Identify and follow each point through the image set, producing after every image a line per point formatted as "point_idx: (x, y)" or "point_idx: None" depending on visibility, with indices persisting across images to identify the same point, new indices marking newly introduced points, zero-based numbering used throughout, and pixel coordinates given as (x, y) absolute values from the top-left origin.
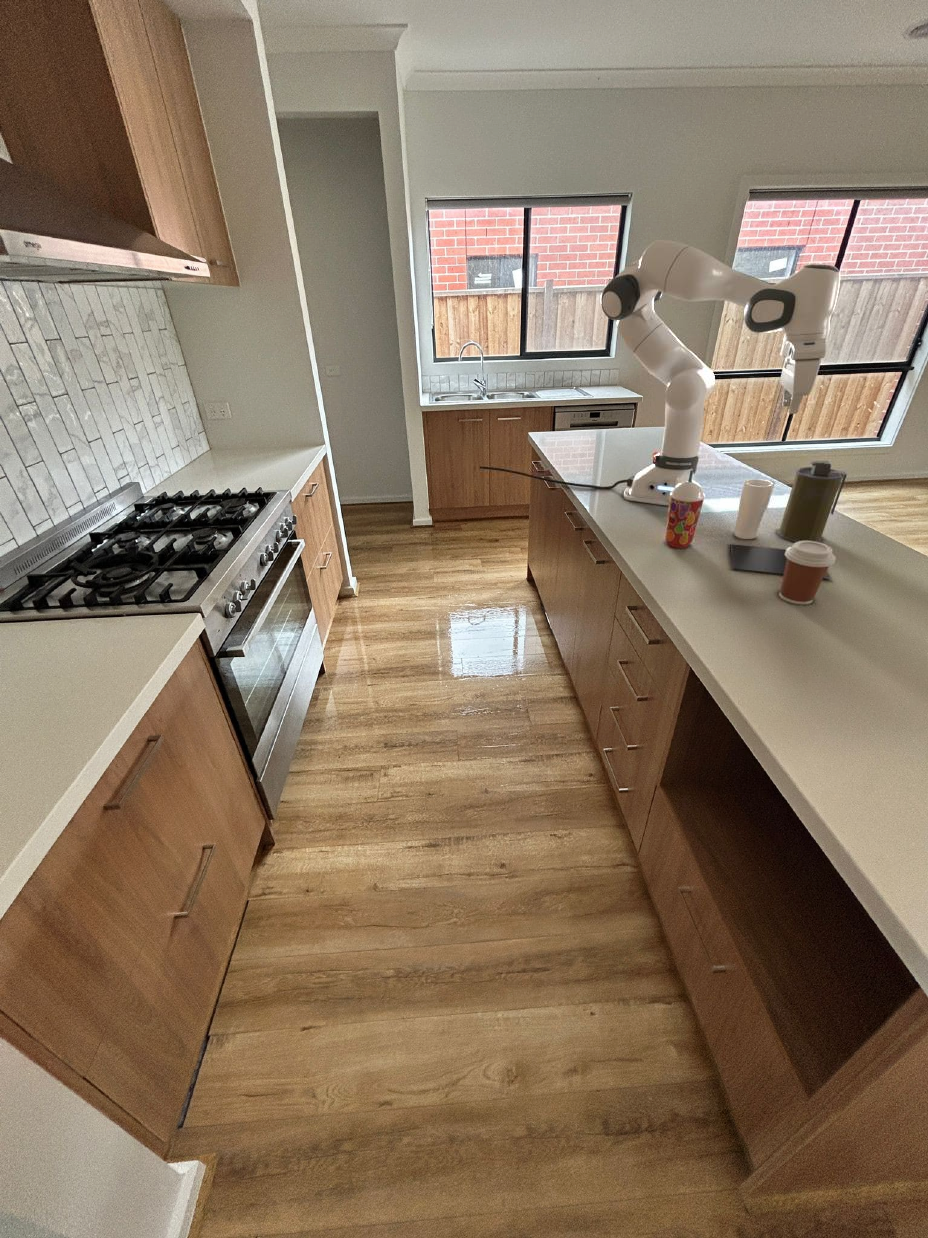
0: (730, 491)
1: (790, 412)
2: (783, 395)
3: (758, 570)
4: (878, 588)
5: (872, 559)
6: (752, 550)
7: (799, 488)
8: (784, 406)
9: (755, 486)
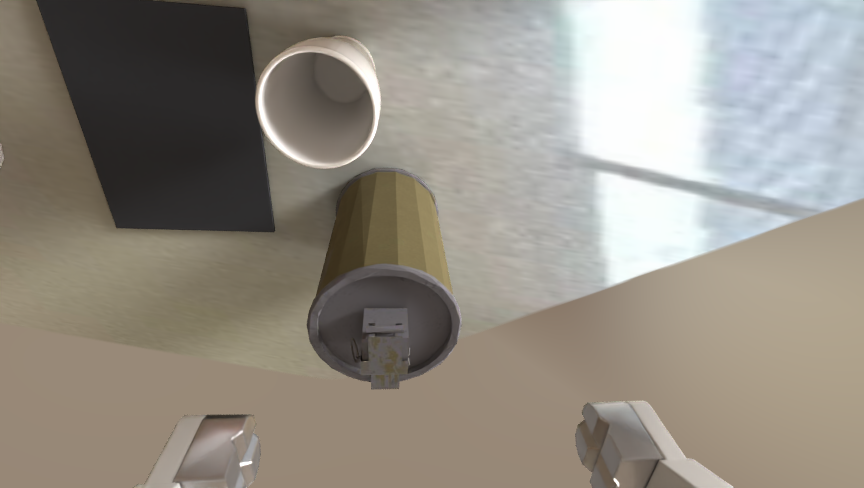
0: (769, 80)
1: (180, 427)
2: (716, 484)
3: (64, 70)
4: (133, 301)
5: (287, 319)
6: (217, 75)
7: (344, 252)
8: (585, 406)
9: (257, 89)
